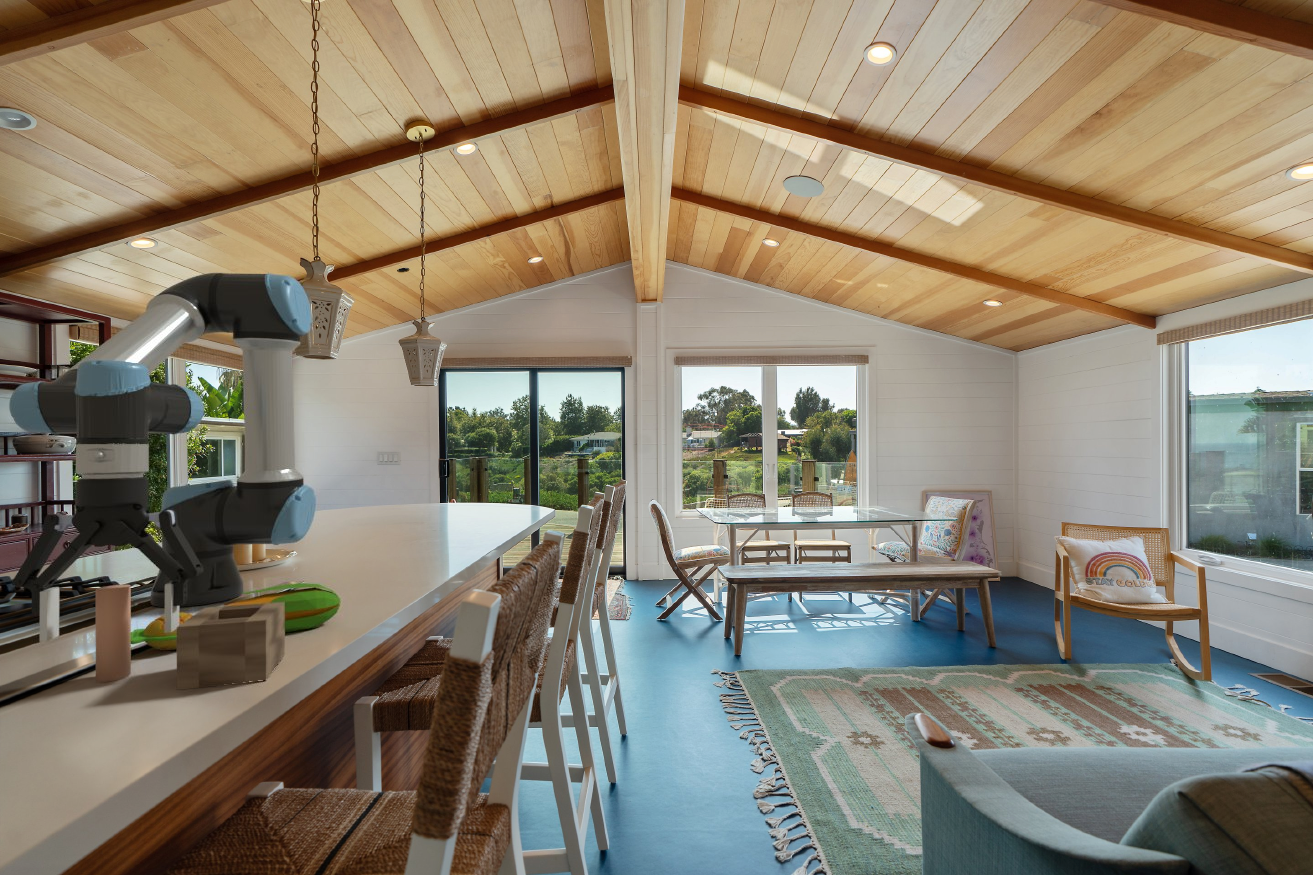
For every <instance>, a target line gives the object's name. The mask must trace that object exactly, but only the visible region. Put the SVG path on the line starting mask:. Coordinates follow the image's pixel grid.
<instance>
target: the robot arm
mask: <svg viewBox="0 0 1313 875" xmlns="http://www.w3.org/2000/svg"><path fill="white" fill-rule="evenodd" d="M312 323H313V314H312V308H311V303H310V300H309V298H308V294H307V293H306V291H305V289H304V287H303V285H302V284H301V283H300V282H299V280H297V279H296V278H294V277H292V276H289V275H282V274H273V273H269V272H268V273H232V272H231V273H225V272H209V273H203V274H199V275H195V276H192V277H188V278H186V279H184V280H182V281H180V282H178V283H175V284H173V285H171V286H170V287H167V288H166V289H164V290H162V291H161V292H159V293H158V294H157V295H155V296H154V297H153V298H151V299H150V300H149V301H148V302H147V304H146V307H145V312H143V313H142V314H141V315H140V316H138V317H137V318H135V319H133V320H132V321H131V322H130V323H129V324H127V325H126V326H125V327H123V328H122V329H120V330H119V331H118V332H117V333H115V334H114V335H113V336H111V337H110V338H109V339H108V340H106V341H105V342H104V343H102V344H101V345H99V346H98V347H97V348H95V350H93V351H92V352H91V353H89V354H88V355H86V356H85V357H84V358H82V359H81V360H80V361H79V362H77V363H76V364H75V365H73V366H71V367H70V368H69V369H67V371H65V372H64V373H62V374H61V375H60V376H59V377H57V378H56V379H55V380H53V381H45V380H39V381H37V382H36V381H34V382H25V383H22V384H20V385H19V386H18V387H16V388H15V389H14V391H13V392H12V394H11V396H10V398H9V402H8V403H9V404H8V408H9V413H10V416H11V417H12V419H13V421H14V422H15V423H14V424H16V426H18V427H19V428H21V429H22V430H24V431H26V432H29V433H36V434H37V433H38V434H52V435H61V434H62V435H64V434H69V435H70V434H76V438H75V444H76V445H75V447H76V448H75V474H77V475H81V478H78V479H77V481H75V492H74V493H75V496H74V497H75V501H74V504H75V509H76V510H75V513H74V514H73V515H72V514H65V513H64V512H56V513H52V514H48V515H46V516H45V517H44V520H43V527H42V532H41V533H40V535H39V537H38V539H37V540H36V542H35V544H34V546H33V547H32V548H31V550H30V551H29V553H28V555H27V556H26V558H25V560H24V562H23V563H22V564H21V566H20V568H19V570H18V572H17V573H16V575H15V576H14V578H13V579H12V582H11V585H12V586H13V587H15V588H23V589H26V590H27V589H28V590H29V591H30V592H31V613H32V615H33V616H34V617H35V616H39V643H47V642H50V641H52V640H54V639H56V638H58V637H60V587H59V586H54V583H55V582H56V581H57V580H58V579H59V578H60V577H61V576H62V575H63V574H64V573H65V572H66V571H67V570H68V569H69V568H70V567H71V566H72V565H73V564H74V563H75V562H76V561H77V560H78V559H79V558H80V556H82V555H83V554H84V553H85V551H87V550H88V549H89V548H91V547H92V546H93V547H94V548H99V547H106V546H113V547H124V546H127V545H131V546H132V547H133V548H135V549H137V550H139V551H140V552H141V553H142V554H143V555H144V556H145V557H146V558H147V559H148V560H149V561H150V562H151V563H153V565H154V566H155V567H156V568H158V569H159V570H158V572H157V575H156V578H155V580H154V583H153V586H152V588H151V590H150V591H151V592H150V604H151V605H152V606H154V607H160V608H164V615H165V633H168V632H172V631H174V630H175V629H177V627H178V626H179V613H180V608H183V607H193V606H194V607H195V606H202V605H208V604H215V603H220V602H225V601H228V600H231V599H234V598H235V599H236V598H238V597H240V596H242V595H244V594H243V593H244V580H243V578H242V576H241V573H240V571H239V568H238V565H237V563H236V560H235V557H234V546H237V545H239V546H240V545H241V546H242V545H245V546H246V545H274V546H279V545H282V544H285V545H286V544H295V543H298V542H299V541H301V540H302V539H303V538H304V537H305V536H306V535H307V534H308V532H309V530H310V529H311V528H310V527H311V526H312V524H313V521H314V517H315V513H316V504H317V499H316V495H315V491H314V489H313V487H311V486H308V485H305V484H304V476H303V474H301V472H299V471H298V470H297V469H296V461H295V460H296V458H295V457H296V455H295V420H294V414H295V413H294V410H295V409H294V378H293V377H294V376H293V375H294V373H293V371H294V370H293V367H294V366H293V352H294V351H295V349H297V348H298V347H299V346H301V336H302V335H303V336H304V335H306V334H308V333H309V332H310V331H311V329H312ZM213 333H215V334H216V333H227V334H232V342H233V343H234V344H236V345H237V346H238V347H239V348H240V349H241V350H242V375H243V376H242V377H243V378H242V380H243V381H242V382H243V383H242V384H243V386H242V387H243V415H244V416H243V421H244V426H243V427H244V457H245V458H244V461H245V465H244V466H245V470H244V472H242V474H240V476H238V478H236V486H235V483H234V482H233V480H231V479H226V480H224V479H223V480H217V481H209V482H202V483H193V484H187V485H180V486H178V485H177V486H172V487H170V488H167V489H166V490H165V491H164V492H163V493H162V499H161V500H162V501H161V508H160V512H153V513H152V512H151V511H150V509H149V494H150V493H149V479H148V477H146V476H144V474H147V472H149V471H150V467H149V466H150V462H149V461H150V460H149V459H150V456H149V454H150V452H149V451H150V450H149V449H150V448H149V447H150V446H149V434H163V435H178V434H184V433H188V432H191V431H192V430H194V429H195V428H197V426H199V424H200V423H201V422H202V420H203V418H204V414H205V407H204V406H205V405H204V403H203V400H202V398H201V397H200V395H198V393H196V392H195V391H194V390H192V389H190V388H187V387H184V386H181V385H178V384H176V383H172V384H170V383H169V384H168V383H160V382H152V381H151V378H150V374H151V373H152V372H153V371H155V370H156V369H157V368H158V367H159V366H160V365H161V364H162V363H163V362H165V361H166V360H167V359H168V358H170V356H171V355H172V354H174V352H176V351H177V350H178V349H179V348H180V347H181V346H182V345H183V344H185V343H190V342H194V341H196V340H198V339H200V338H201V336H202V335H203V336H204V335H207V334H213ZM151 522H152V523H153V524H154V525H155V527H156V528H160V531H161V545H160V544H158V543H157V541H155V538H154V537H153V536H152V535H151V534H150V532H148V531H147V530H146V528H147V527H148V526H149V525H150V524H151ZM71 525H72V526H73V527H74V529H75V530H77V532H78V535H77V536H75V538H74V539H73V540H72V541H71V542H70V543H69V545H68V546H67V548H65V549H64V550H63V551H62V552H61V553H60V554H59V555H58V556H57V557H56V558H55V559H54V561H52V562H51V563H50V564H49V565H48V566H47V567H46V568H45V569H44V570H43V571H42V569H43V568H44V566H45V565H46V563H47V562H48V560H49V558H50V556H51V555H52V553H53V551H54V550H55V548H56V546H57V545H58V543H59V541H60V540H61V538H62V536H63V535H64V532H65V531H67V530H68V529H69V528H70V526H71ZM41 571H42V572H41ZM39 574H40V575H39ZM53 586H54V587H53Z"/></svg>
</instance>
